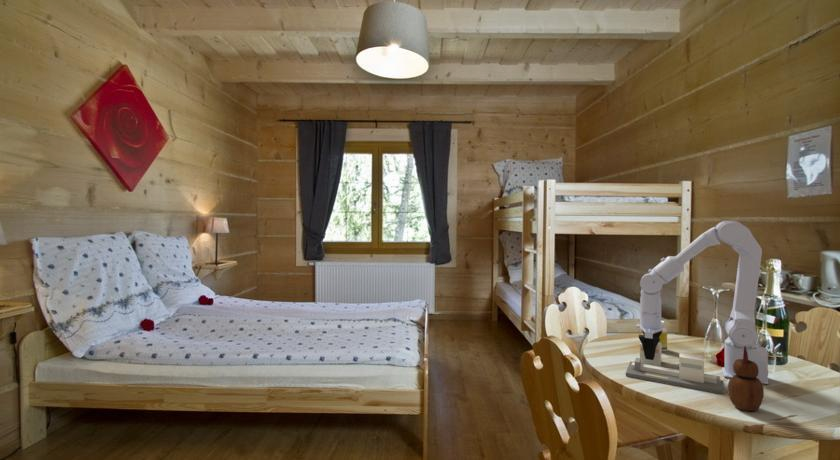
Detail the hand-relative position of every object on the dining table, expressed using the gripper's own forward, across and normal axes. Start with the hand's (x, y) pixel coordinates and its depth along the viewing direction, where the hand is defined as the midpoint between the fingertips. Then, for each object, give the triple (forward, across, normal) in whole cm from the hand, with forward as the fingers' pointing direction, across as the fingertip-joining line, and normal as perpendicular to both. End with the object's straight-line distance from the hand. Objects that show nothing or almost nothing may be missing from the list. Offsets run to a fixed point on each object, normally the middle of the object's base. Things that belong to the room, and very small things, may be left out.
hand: (650, 355), depth 124 cm
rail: (+2, +11, +6) cm, 13 cm away
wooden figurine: (+2, +23, +21) cm, 31 cm away
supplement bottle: (+2, -16, +1) cm, 16 cm away
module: (+2, 0, 0) cm, 2 cm away
